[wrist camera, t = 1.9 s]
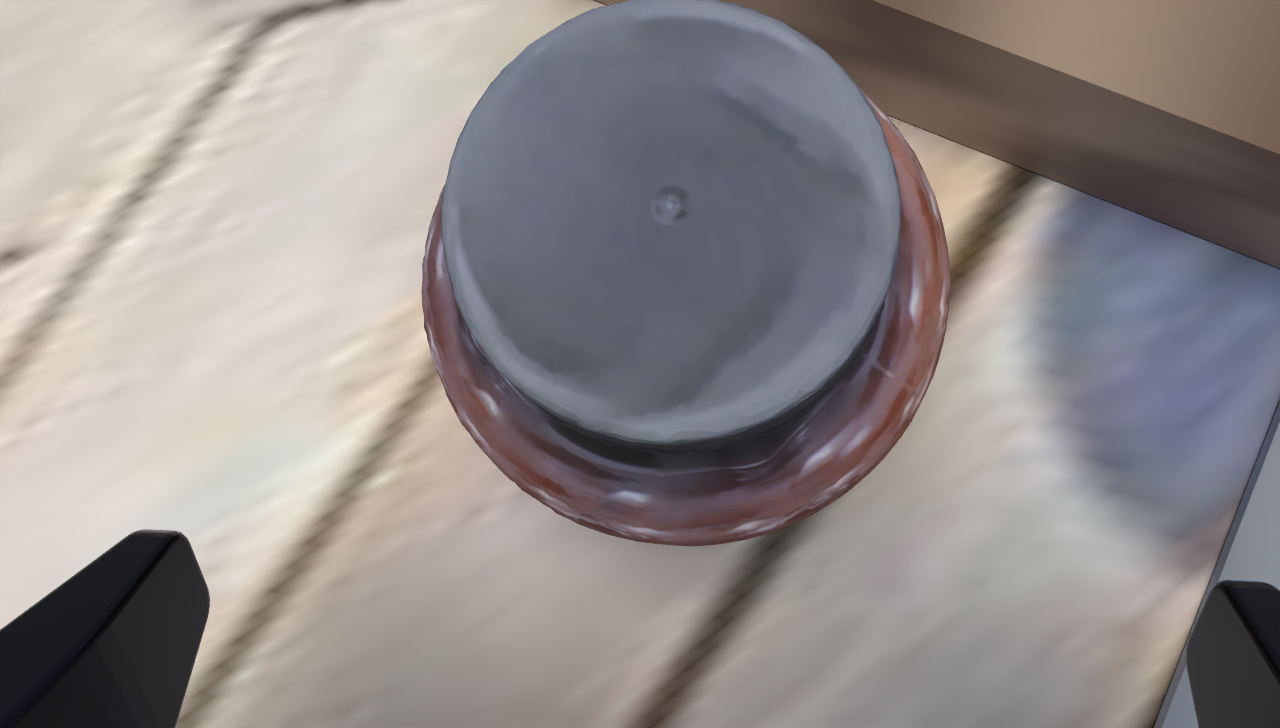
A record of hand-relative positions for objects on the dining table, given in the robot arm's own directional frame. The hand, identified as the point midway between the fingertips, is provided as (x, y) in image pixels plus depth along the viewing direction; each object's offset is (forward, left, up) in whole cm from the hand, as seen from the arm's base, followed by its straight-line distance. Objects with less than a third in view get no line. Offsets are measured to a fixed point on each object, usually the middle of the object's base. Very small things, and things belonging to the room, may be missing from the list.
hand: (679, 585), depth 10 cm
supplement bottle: (+3, 0, -11) cm, 11 cm away
